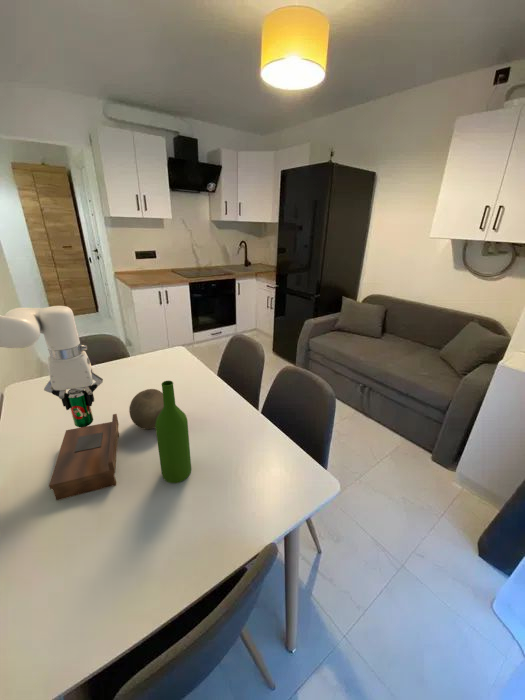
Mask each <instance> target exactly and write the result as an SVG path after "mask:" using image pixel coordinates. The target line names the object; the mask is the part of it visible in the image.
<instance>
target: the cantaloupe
mask: <svg viewBox="0 0 525 700" xmlns="http://www.w3.org/2000/svg"><path fill="white" fill-rule="evenodd" d="M163 407H164V402H163V392H162V391H160V390H159V389H157V388H148V389H144V390H141V391H139V392H138V393H136V395H134V396H133V398H132V400H131V401H130V405H129V411H128V412H129V417H130V419H131V421H132V422H133V424H134V425H135V426H136V427H137V428H139V429H141V430H142V429H143V430H152V429H156V428H155V424H156V419H157V417H158V415H159V414H160V412H161V411H162V409H163Z"/></svg>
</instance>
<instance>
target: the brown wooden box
mask: <svg viewBox="0 0 525 700" xmlns="http://www.w3.org/2000/svg"><path fill="white" fill-rule="evenodd" d="M111 419H112V420H111V421H109V422H103V423H98V424H91V425H88V426H86V427H76V428H70V429H66V430H65V432H64V436H63V439H62V442H61V445H60V448H59V451H58V455H57V459H56V461H55V464H54V466H53V467H54V468H53V470H52V474H51V477H50V480H49V483H48V487H49V490H52V492H53V495H54V498H55V501H60V500H64V499H68V498H72V497H75V496H79V495H85V494H87V493H91V492H95V491H100V490H102V489H107V488H110V487H114V486H117V480H116V475H115V474H116V465H117V454H118V453H117V451H118V438H119V437H120V431H119V425H120V424H119V418H118V414H117V413H113V414H112V418H111Z"/></svg>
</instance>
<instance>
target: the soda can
mask: <svg viewBox="0 0 525 700" xmlns="http://www.w3.org/2000/svg"><path fill="white" fill-rule="evenodd" d="M67 393H68V394H67V398H68V402H69V406H70V409H69V410H70V413H71V416H72V420H73V424H74V426H75V427H76V428H81V427H86V426H91V425H92V424H93V422H94V417H93V412H92V408H91V407H92V406H88V401H87V397H86V395H87V392H86V391H85V389H84V388H83V387H81V388H74V389H68V391H67Z"/></svg>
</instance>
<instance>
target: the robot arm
mask: <svg viewBox="0 0 525 700" xmlns="http://www.w3.org/2000/svg"><path fill="white" fill-rule="evenodd" d="M41 334H43V337H44V340H45V343H46V348H47V350H48V354H49V355H48V358H47V367H48V374H49V375H48V376H49V380H48V382H47V383H46V384H45V386H44V388H43V391H44V392H47V393H50V394H52V395H54V396H56V397H58V398H59V400H61V403H62V406H63V407H64V408H65V410H66V411H69V410H71V409H70V406H69V402H68V398H67V394H68V392H67V390H70V389H74V388H81V387H83V388H84V389H85V391H86V392H87V395H86V397H87V401H88V406H90V407H92V405H93V403H94V402H95V395H94V392H95V390H96V389H97V388H98V387H100V385H102V384H103V381H104V379H103V378H102V377H100V376H99V375H98V374H96V373H94V370H93V367H92V364H91V360H90V358H89V356H88V354H87V352H86V351H87V350H88V345H87V344H82V342H81V341H80V340H81V339H80V337H79V332H78V327H77V323H76V319H75V315H74V312H73V309H72V308H70V307H68V306H67V305H52V306H51V305H50V306H47V307H15V308H12V309H10V310H8V311H7V312H6V313H5V314H4V315H2V314H0V348H6V349H25V348H29V347H32V346H33V345H35V344H36V343H37V342H38V341H39V339H40V336H41Z"/></svg>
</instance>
